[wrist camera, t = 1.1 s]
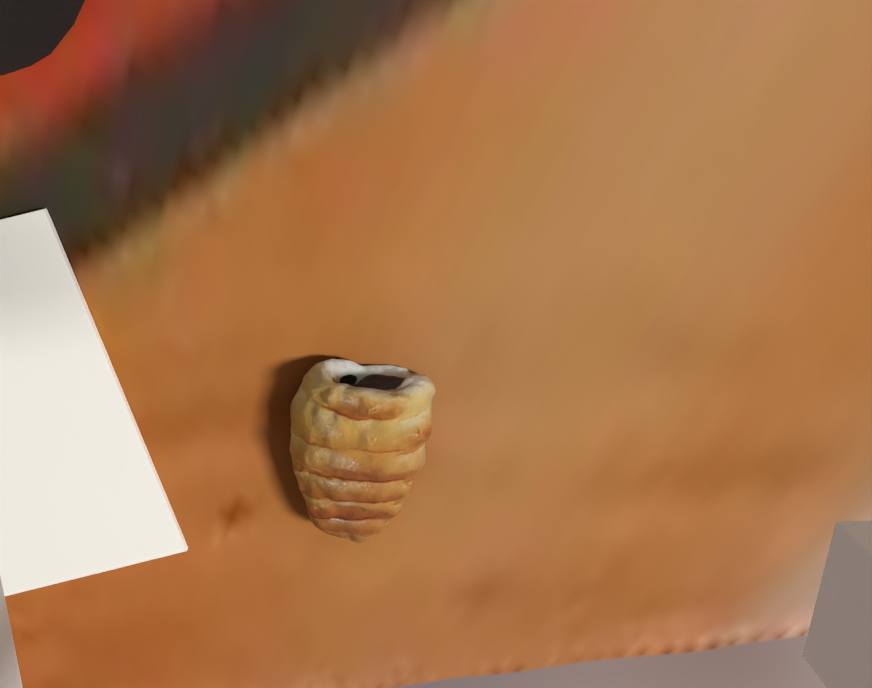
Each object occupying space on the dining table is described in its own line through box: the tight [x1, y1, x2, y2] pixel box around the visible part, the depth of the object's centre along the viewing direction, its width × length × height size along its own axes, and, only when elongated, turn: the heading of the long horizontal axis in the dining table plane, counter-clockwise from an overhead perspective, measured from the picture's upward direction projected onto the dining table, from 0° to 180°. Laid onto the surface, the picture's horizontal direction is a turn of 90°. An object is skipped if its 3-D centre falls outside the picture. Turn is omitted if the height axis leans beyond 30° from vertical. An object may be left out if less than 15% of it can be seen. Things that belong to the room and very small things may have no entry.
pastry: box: [289, 359, 435, 543], centre depth 35 cm, size 9×7×4 cm
